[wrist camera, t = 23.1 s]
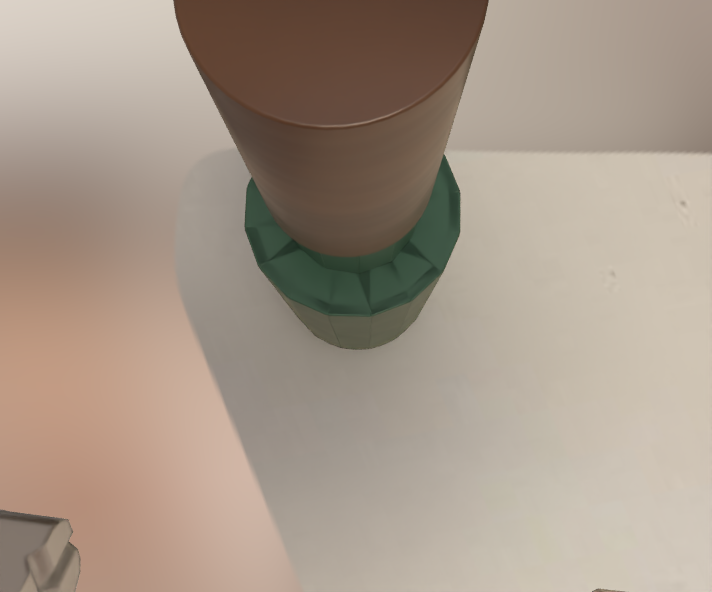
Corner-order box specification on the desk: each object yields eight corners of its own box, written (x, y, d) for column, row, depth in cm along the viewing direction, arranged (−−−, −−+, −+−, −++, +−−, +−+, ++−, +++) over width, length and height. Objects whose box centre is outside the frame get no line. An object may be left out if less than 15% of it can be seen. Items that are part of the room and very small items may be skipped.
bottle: (317, 369, 31) (273, 338, 17) (271, 243, 32) (190, 107, 18) (446, 320, 32) (516, 246, 17) (396, 197, 33) (420, 24, 18)
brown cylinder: (420, 270, 17) (468, 150, 9) (246, 243, 17) (142, 104, 9) (444, 104, 18) (508, -143, 10) (276, 80, 18) (204, -181, 10)
